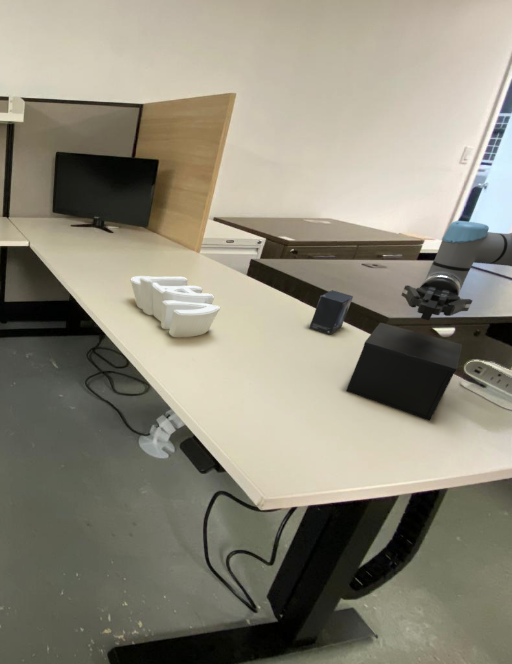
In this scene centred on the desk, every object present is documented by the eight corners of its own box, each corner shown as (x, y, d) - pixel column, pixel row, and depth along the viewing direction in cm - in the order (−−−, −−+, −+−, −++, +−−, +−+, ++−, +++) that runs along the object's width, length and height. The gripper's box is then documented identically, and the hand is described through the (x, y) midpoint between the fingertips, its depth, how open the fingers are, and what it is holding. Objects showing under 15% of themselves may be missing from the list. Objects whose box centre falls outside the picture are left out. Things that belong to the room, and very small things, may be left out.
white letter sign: (224, 344, 124) (234, 307, 120) (167, 344, 121) (175, 307, 117) (169, 299, 155) (175, 268, 151) (122, 298, 152) (127, 267, 148)
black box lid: (454, 372, 90) (456, 368, 90) (363, 345, 100) (365, 341, 99) (460, 347, 102) (462, 344, 102) (379, 325, 112) (380, 322, 111)
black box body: (429, 421, 96) (455, 370, 91) (345, 391, 105) (364, 344, 100) (437, 393, 107) (460, 347, 102) (361, 368, 117) (378, 325, 112)
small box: (331, 335, 136) (343, 302, 131) (308, 328, 140) (319, 295, 135) (342, 327, 143) (354, 295, 138) (320, 320, 147) (331, 289, 142)
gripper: (465, 314, 110) (459, 340, 94) (400, 298, 118) (384, 320, 102) (480, 283, 107) (476, 305, 91) (412, 270, 115) (397, 287, 99)
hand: (427, 313), depth 96 cm, fingers closed
